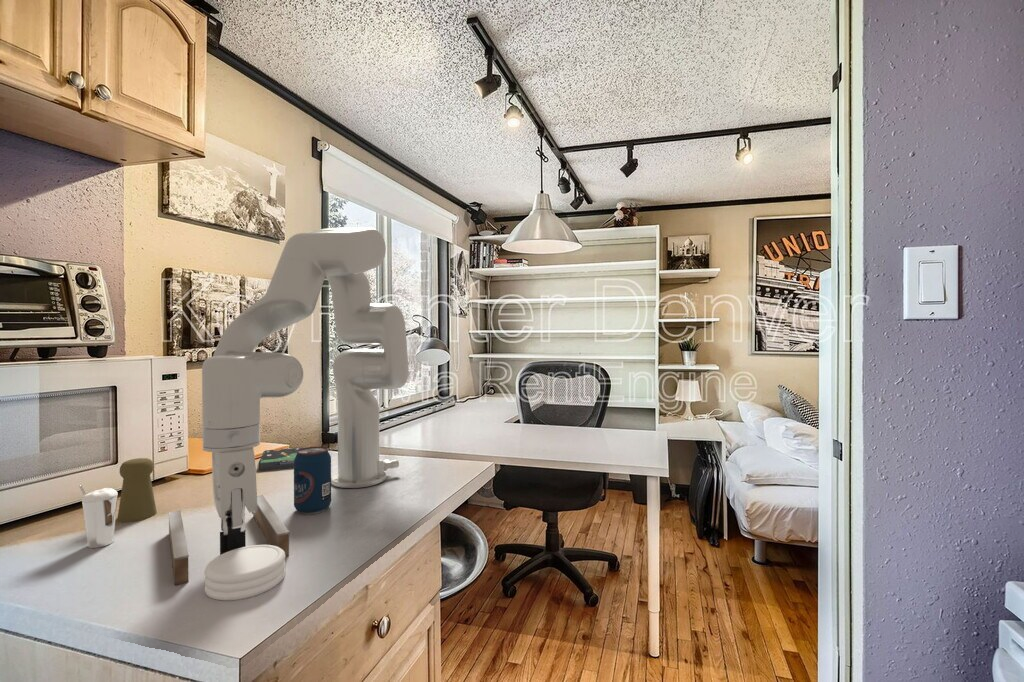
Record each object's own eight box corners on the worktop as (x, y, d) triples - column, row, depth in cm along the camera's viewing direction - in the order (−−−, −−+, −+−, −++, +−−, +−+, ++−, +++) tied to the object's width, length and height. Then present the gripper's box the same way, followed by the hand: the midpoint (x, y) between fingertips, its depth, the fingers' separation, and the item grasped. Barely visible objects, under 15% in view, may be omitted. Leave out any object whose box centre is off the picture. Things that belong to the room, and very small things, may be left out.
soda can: (285, 512, 94) (285, 452, 94) (312, 501, 100) (312, 444, 100) (313, 517, 91) (312, 455, 91) (338, 505, 98) (338, 447, 98)
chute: (262, 514, 93) (262, 495, 93) (289, 555, 76) (289, 531, 76) (168, 533, 84) (168, 512, 84) (174, 585, 67) (174, 558, 67)
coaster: (296, 565, 73) (296, 542, 73) (266, 601, 63) (266, 575, 63) (228, 567, 72) (228, 544, 72) (188, 604, 62) (187, 577, 62)
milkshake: (91, 539, 82) (91, 481, 82) (125, 537, 82) (124, 480, 82) (69, 551, 77) (68, 489, 77) (104, 549, 78) (104, 488, 78)
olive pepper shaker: (134, 523, 89) (134, 464, 89) (108, 520, 90) (108, 462, 90) (164, 511, 95) (164, 456, 95) (139, 509, 96) (139, 454, 96)
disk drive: (263, 460, 136) (258, 473, 123) (263, 450, 136) (258, 462, 123) (303, 456, 140) (302, 468, 127) (303, 446, 140) (302, 458, 127)
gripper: (268, 442, 69) (269, 569, 69) (251, 426, 81) (252, 534, 81) (207, 449, 64) (208, 585, 64) (198, 432, 76) (199, 546, 76)
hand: (232, 557), depth 73 cm, fingers closed
